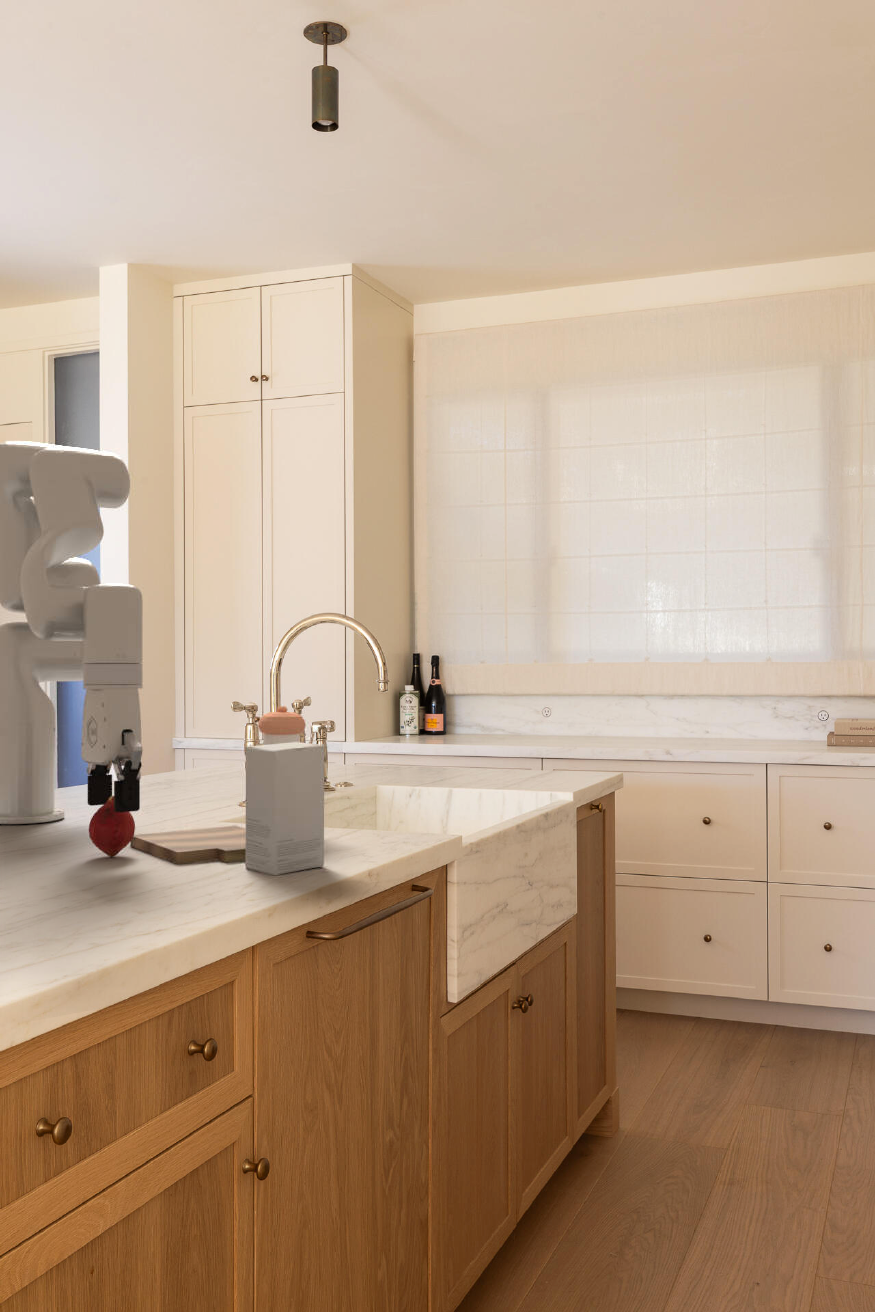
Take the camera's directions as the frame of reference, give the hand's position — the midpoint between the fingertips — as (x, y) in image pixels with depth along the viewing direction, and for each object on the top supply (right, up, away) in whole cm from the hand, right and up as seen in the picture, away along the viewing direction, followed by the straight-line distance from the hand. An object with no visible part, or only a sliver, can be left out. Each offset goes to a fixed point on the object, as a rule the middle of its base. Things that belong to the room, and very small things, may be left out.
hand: (113, 808), depth 145 cm
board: (+12, -7, +6) cm, 15 cm away
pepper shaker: (+19, -7, +19) cm, 28 cm away
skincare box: (+24, -7, -7) cm, 25 cm away
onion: (0, -7, 0) cm, 7 cm away
